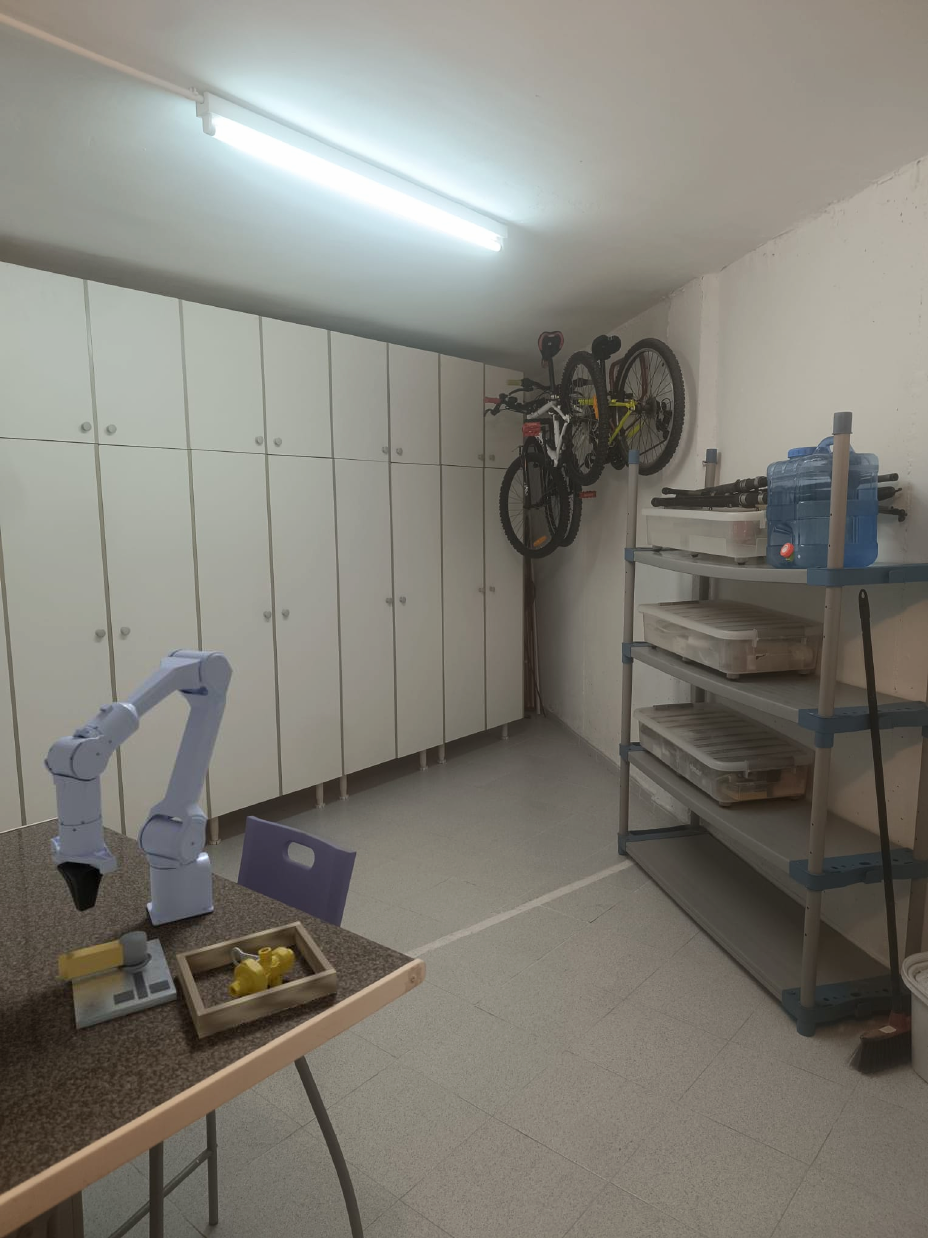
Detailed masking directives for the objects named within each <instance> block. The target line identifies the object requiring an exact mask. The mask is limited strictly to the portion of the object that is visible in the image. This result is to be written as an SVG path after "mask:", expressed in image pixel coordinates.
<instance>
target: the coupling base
mask: <svg viewBox="0 0 928 1238" xmlns="http://www.w3.org/2000/svg"><path fill="white" fill-rule="evenodd" d="M147 953H148V957H147V958H146V960H144V961H143V962H141V963H139V964H136V965H130V966H127V965H119V966H115V967H112V968H108V969H104V970H101V971H97V972H93V973H89V974H86V975H82V976H78V977H75V978H71V979H67V980H64V981H65V983H68V982H71V983H72V984H71V985H72V986H71V987H72V996H73V1005H74V1006H73V1007H74V1014H75V1025H76V1030H79V1029H80V1030H81V1029H83V1028H86V1027H90V1026H93V1025H96V1024H100V1023H103V1022H107V1021H110V1020H113V1019H117V1018H120V1017H123V1016H126V1015H130V1014H132V1013H137V1012H139V1011H143V1010H146V1009H149V1008H152V1007H155V1006H159V1005H163V1004H165V1003H169V1002H171V1001H175V1000H178V995H177V994H178V993H177V989H176V986H175V984H174V981H173V978H172V977H173V976H172V975H171V970H170V968H169V965H168V962H167V959H166V957H165V953H164V950H163V947H162V944H161V941H160V938H155V939H151V940H147Z"/></svg>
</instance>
